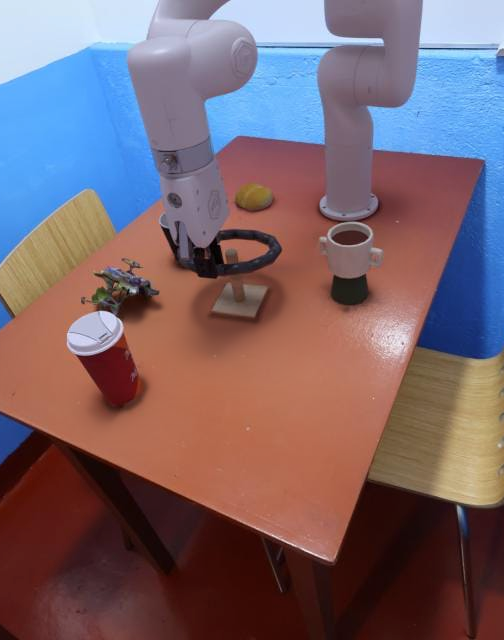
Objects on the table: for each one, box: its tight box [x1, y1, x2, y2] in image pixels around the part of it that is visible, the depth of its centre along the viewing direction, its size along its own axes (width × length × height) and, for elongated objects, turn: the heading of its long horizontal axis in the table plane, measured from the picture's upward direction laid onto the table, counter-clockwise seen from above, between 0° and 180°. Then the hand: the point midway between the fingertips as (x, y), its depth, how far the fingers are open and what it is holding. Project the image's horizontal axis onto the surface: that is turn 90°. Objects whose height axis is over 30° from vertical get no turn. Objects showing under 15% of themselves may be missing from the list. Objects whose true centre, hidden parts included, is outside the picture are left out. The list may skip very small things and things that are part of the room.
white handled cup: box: [318, 221, 384, 306], centre depth 77 cm, size 11×7×13 cm, turn 58°
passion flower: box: [80, 257, 160, 317], centre depth 85 cm, size 11×11×12 cm
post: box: [211, 248, 269, 318], centre depth 80 cm, size 8×8×11 cm
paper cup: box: [66, 310, 143, 408], centre depth 68 cm, size 8×8×14 cm
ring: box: [178, 228, 283, 277], centre depth 76 cm, size 17×17×2 cm
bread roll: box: [234, 182, 274, 212], centre depth 109 cm, size 8×9×4 cm
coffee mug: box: [158, 211, 186, 269], centre depth 94 cm, size 12×9×10 cm
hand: (211, 271), depth 71 cm, fingers closed on ring, 1 cm apart
